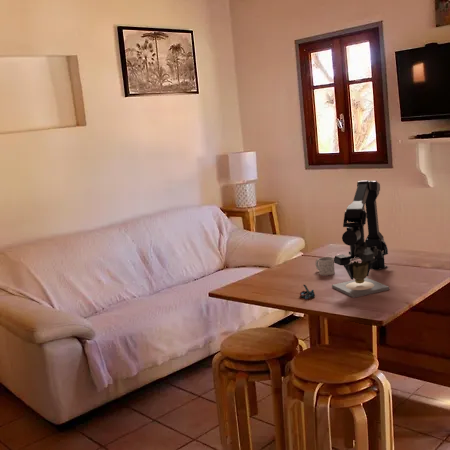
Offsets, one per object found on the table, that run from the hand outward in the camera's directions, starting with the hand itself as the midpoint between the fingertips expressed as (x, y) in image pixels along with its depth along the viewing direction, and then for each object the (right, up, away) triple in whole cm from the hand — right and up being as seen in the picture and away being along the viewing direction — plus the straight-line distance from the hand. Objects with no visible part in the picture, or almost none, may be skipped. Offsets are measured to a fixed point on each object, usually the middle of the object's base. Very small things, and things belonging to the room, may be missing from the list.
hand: (359, 277), depth 231 cm
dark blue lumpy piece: (-21, -8, -2) cm, 22 cm away
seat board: (0, -4, +1) cm, 5 cm away
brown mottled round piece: (0, -2, 0) cm, 2 cm away
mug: (-9, -1, +28) cm, 29 cm away
